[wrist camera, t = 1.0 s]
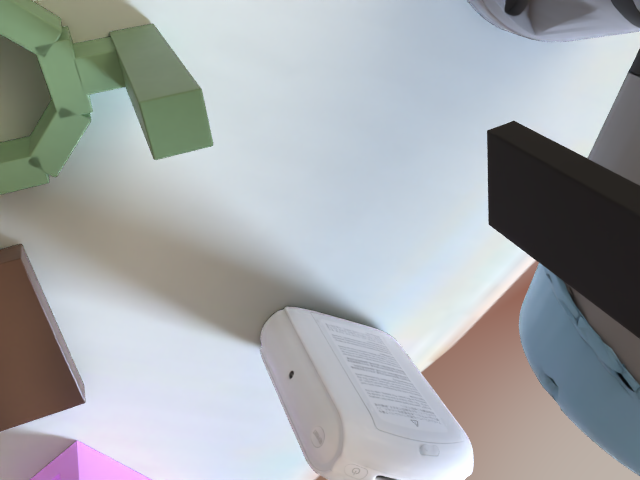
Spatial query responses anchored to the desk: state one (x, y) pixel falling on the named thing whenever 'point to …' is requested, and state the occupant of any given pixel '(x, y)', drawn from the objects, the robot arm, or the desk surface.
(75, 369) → the peg stand
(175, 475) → the desk surface
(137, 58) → the sage ring
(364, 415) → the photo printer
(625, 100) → the robot arm
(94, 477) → the bracket
